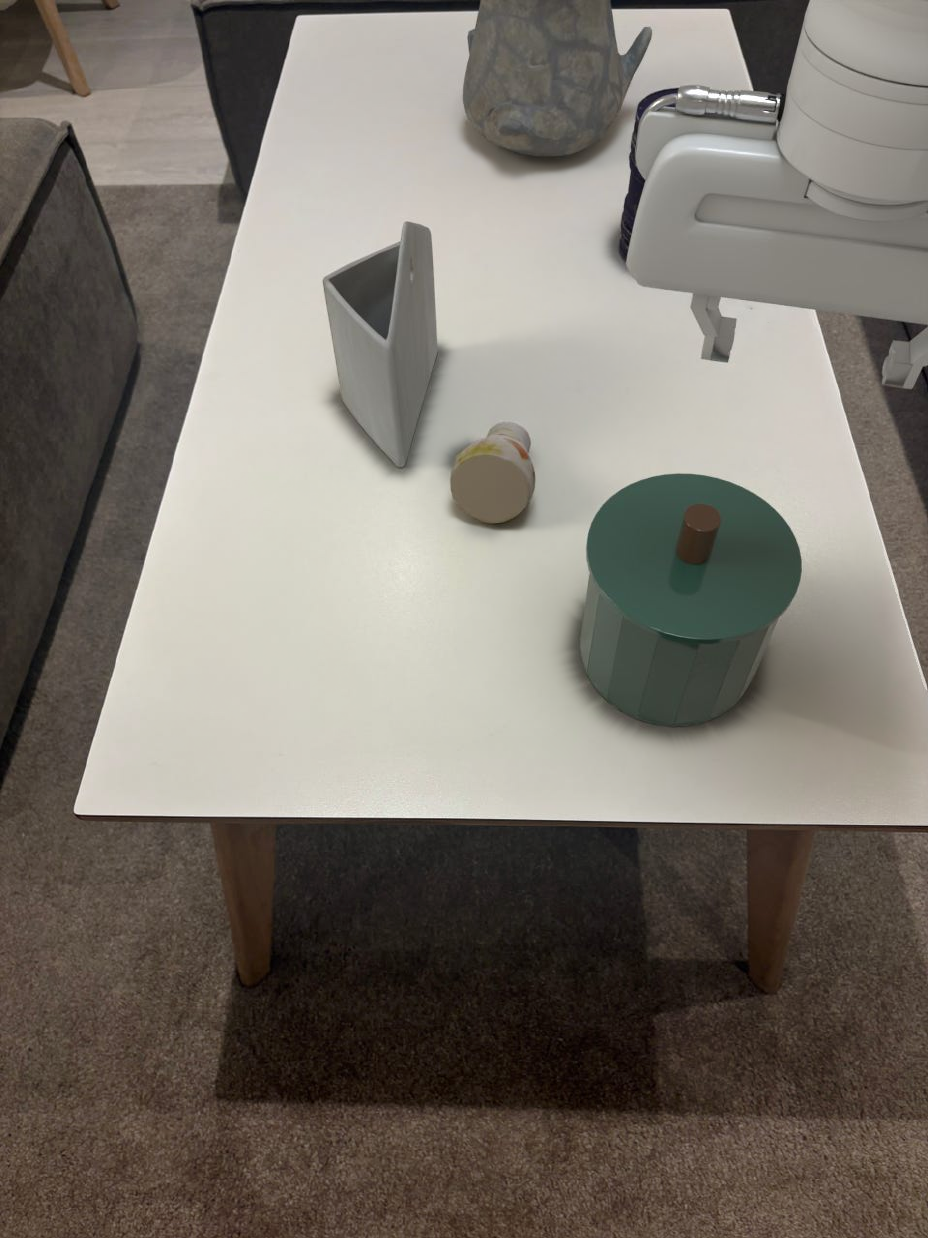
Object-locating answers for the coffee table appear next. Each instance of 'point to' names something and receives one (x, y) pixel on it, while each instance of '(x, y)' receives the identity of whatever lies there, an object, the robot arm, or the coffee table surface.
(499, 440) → the painted ceramic vase
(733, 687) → the pot
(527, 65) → the vessel
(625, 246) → the storage jar
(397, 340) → the planter
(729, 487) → the pot lid
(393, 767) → the coffee table surface
